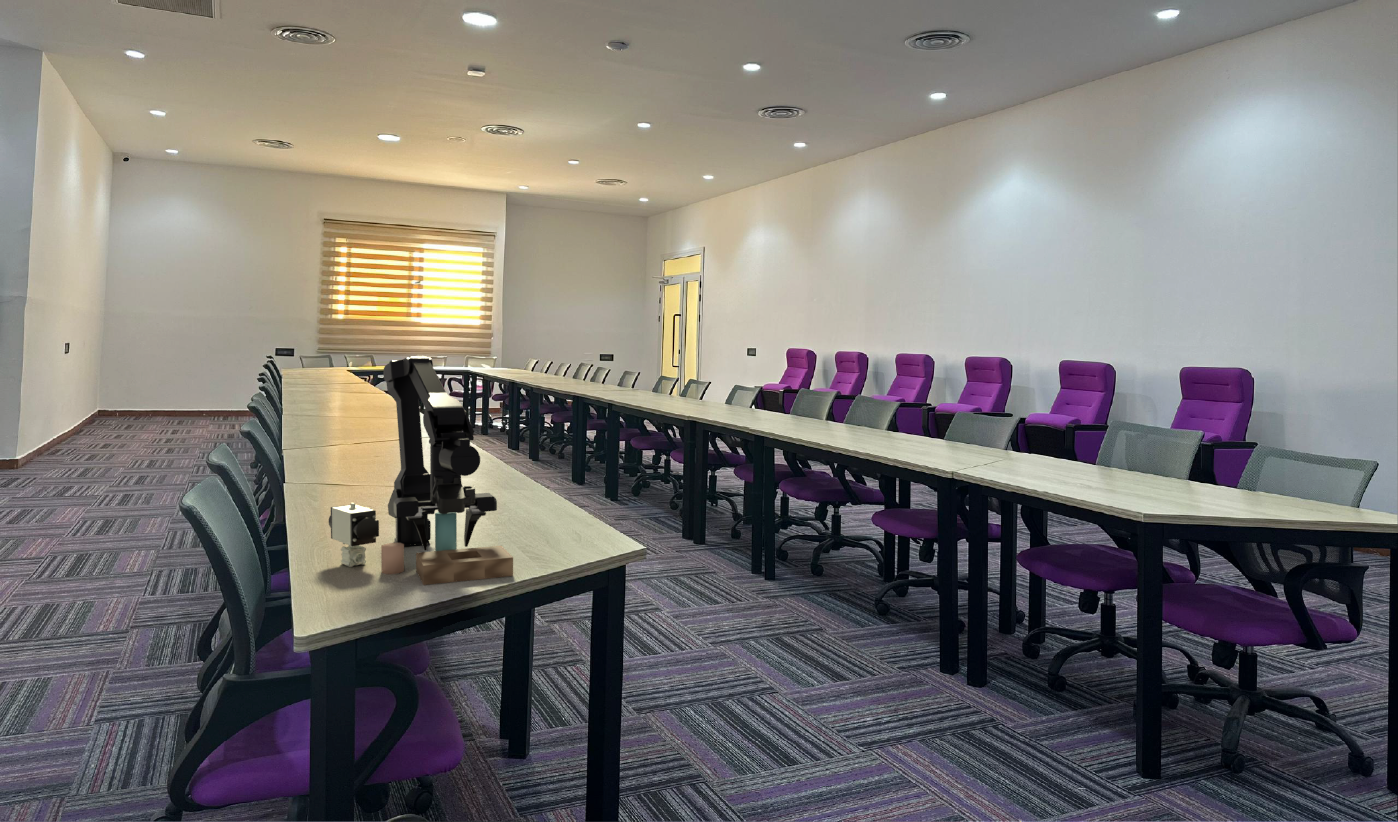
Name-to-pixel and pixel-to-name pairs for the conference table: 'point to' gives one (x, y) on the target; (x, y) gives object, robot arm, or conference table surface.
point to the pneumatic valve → (353, 531)
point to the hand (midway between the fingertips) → (445, 548)
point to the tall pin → (445, 531)
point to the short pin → (392, 558)
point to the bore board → (463, 564)
